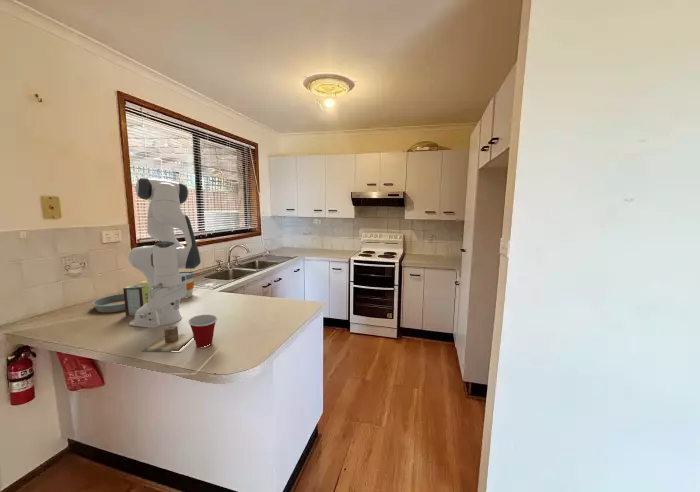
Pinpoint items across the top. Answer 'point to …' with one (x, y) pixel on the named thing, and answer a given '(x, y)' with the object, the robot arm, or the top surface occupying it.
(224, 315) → the top surface
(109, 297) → the cake pan
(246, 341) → the top surface
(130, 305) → the protein box
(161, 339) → the lid
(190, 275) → the reusable coffee cup
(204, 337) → the plastic cup
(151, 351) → the mat
